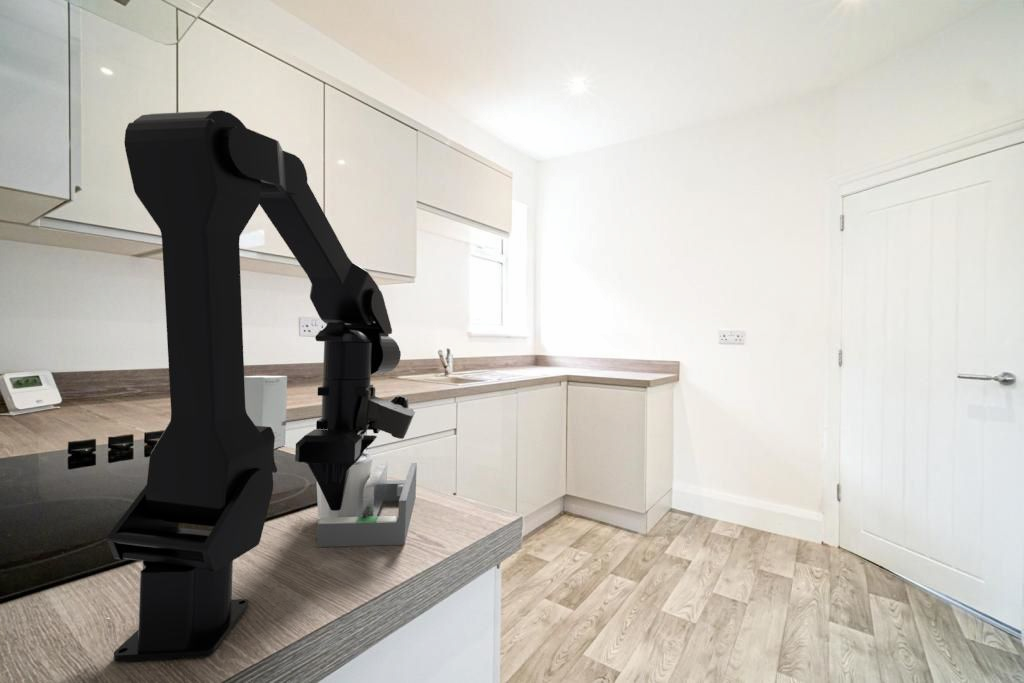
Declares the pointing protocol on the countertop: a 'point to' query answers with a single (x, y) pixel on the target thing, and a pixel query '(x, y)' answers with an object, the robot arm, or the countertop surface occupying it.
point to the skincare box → (267, 404)
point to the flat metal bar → (375, 490)
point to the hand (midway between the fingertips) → (342, 500)
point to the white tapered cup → (349, 491)
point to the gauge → (373, 520)
